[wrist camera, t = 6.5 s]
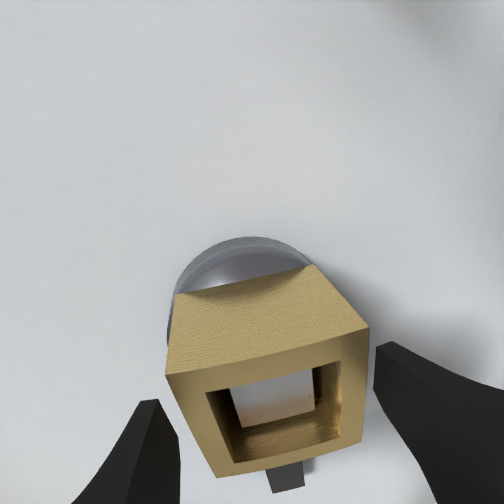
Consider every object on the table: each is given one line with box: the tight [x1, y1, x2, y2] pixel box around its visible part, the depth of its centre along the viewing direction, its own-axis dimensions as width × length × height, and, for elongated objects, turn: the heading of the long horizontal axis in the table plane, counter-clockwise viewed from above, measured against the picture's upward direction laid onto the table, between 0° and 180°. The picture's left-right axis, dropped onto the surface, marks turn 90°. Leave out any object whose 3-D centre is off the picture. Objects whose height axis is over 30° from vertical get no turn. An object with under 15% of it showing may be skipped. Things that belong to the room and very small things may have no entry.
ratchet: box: [167, 237, 315, 493], centre depth 14 cm, size 19×7×6 cm, turn 10°
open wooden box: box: [165, 265, 369, 478], centre depth 10 cm, size 5×5×4 cm
